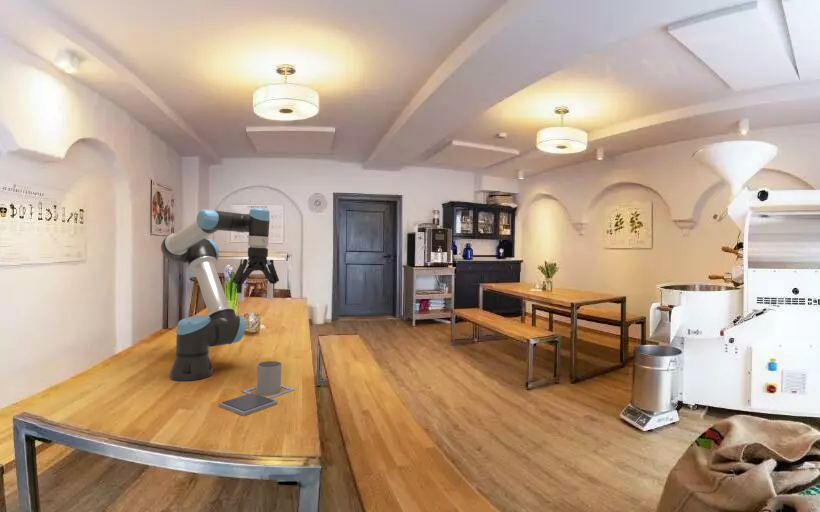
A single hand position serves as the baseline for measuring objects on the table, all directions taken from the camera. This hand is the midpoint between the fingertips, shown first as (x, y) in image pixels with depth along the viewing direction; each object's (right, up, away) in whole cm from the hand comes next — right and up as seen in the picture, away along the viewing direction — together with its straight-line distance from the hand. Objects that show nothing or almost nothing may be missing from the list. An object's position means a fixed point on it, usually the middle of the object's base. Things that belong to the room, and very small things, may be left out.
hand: (255, 300), depth 162 cm
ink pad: (+8, -32, -27) cm, 42 cm away
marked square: (+9, -32, -13) cm, 36 cm away
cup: (+9, -32, -13) cm, 36 cm away
